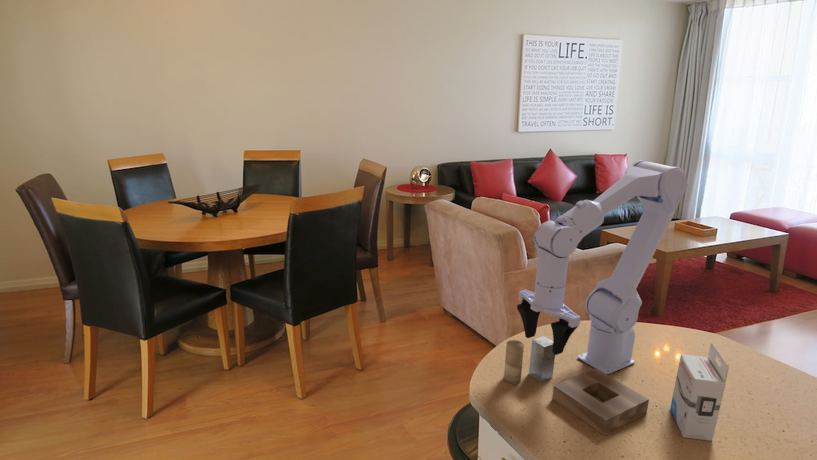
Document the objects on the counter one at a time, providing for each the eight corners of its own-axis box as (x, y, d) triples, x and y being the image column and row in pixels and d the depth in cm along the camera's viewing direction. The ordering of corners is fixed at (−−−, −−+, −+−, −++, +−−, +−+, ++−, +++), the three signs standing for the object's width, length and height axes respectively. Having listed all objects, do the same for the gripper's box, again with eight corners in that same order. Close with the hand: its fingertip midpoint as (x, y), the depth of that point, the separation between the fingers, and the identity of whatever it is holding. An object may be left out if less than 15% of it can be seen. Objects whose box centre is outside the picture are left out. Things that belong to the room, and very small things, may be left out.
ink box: (669, 408, 98) (682, 338, 93) (697, 412, 97) (712, 341, 93) (682, 438, 90) (697, 362, 85) (713, 442, 89) (730, 366, 84)
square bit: (540, 369, 110) (544, 335, 107) (552, 377, 107) (556, 342, 105) (528, 374, 108) (532, 339, 106) (540, 382, 105) (544, 347, 103)
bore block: (593, 381, 106) (595, 368, 105) (646, 413, 96) (649, 399, 95) (552, 399, 100) (553, 385, 99) (604, 435, 90) (606, 420, 89)
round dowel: (512, 372, 108) (515, 338, 106) (524, 380, 105) (527, 345, 103) (500, 377, 107) (503, 342, 104) (511, 385, 104) (514, 350, 101)
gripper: (509, 274, 105) (504, 334, 109) (564, 300, 93) (556, 366, 97) (534, 268, 109) (529, 326, 113) (590, 292, 97) (582, 356, 101)
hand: (543, 344), depth 105 cm, fingers open, 7 cm apart
